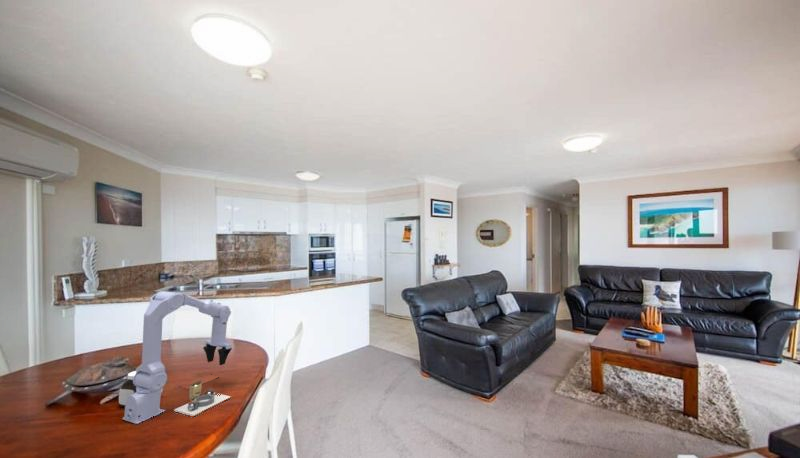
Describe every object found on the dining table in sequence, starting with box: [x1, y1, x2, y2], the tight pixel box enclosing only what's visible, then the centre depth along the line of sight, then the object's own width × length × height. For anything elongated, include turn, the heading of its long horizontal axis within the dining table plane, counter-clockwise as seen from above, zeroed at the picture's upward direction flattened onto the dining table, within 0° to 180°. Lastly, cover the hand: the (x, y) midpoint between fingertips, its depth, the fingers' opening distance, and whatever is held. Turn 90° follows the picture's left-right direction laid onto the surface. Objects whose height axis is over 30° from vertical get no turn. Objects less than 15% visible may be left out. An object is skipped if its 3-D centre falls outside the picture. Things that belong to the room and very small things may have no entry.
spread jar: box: [118, 370, 164, 408], centre depth 123 cm, size 12×11×12 cm
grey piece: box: [204, 389, 215, 395], centre depth 126 cm, size 3×3×2 cm
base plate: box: [173, 392, 231, 416], centre depth 120 cm, size 16×10×3 cm, turn 161°
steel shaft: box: [187, 401, 199, 411], centre depth 115 cm, size 3×3×2 cm
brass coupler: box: [188, 381, 203, 401], centre depth 125 cm, size 4×4×7 cm
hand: (216, 363), depth 139 cm, fingers open, 7 cm apart
